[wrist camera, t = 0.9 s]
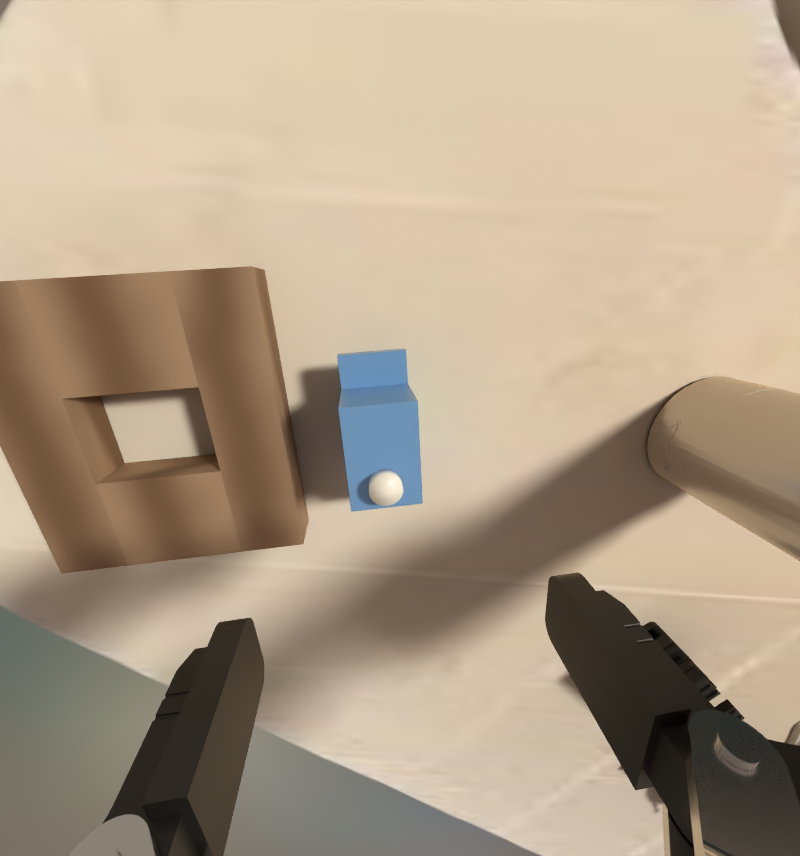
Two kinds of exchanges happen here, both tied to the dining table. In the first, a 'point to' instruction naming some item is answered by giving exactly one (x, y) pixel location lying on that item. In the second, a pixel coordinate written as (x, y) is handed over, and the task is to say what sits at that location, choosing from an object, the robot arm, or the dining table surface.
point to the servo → (379, 430)
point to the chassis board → (141, 372)
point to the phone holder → (795, 735)
